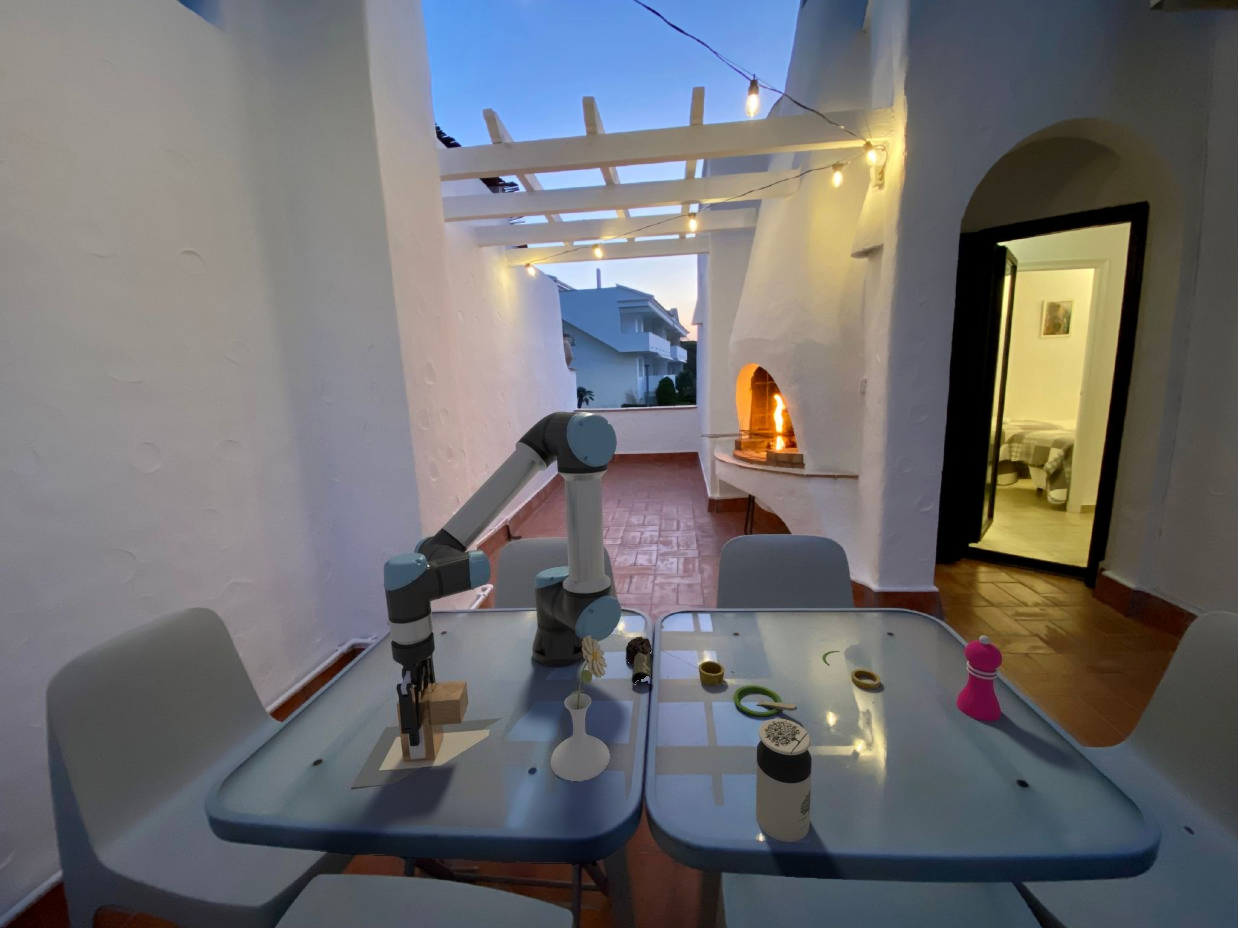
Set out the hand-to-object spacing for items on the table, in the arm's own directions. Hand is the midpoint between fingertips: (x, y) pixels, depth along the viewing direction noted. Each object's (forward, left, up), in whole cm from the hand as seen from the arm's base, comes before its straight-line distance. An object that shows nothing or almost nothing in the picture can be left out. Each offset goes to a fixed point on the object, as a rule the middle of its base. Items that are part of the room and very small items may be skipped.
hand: (423, 744), depth 97 cm
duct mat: (-2, 0, -2) cm, 3 cm away
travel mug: (-63, +25, -3) cm, 67 cm away
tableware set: (-79, -11, -3) cm, 80 cm away
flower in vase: (-31, +6, -3) cm, 32 cm away
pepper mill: (-111, +5, -3) cm, 112 cm away
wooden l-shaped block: (0, 0, -1) cm, 1 cm away
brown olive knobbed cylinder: (-45, -18, -5) cm, 49 cm away
